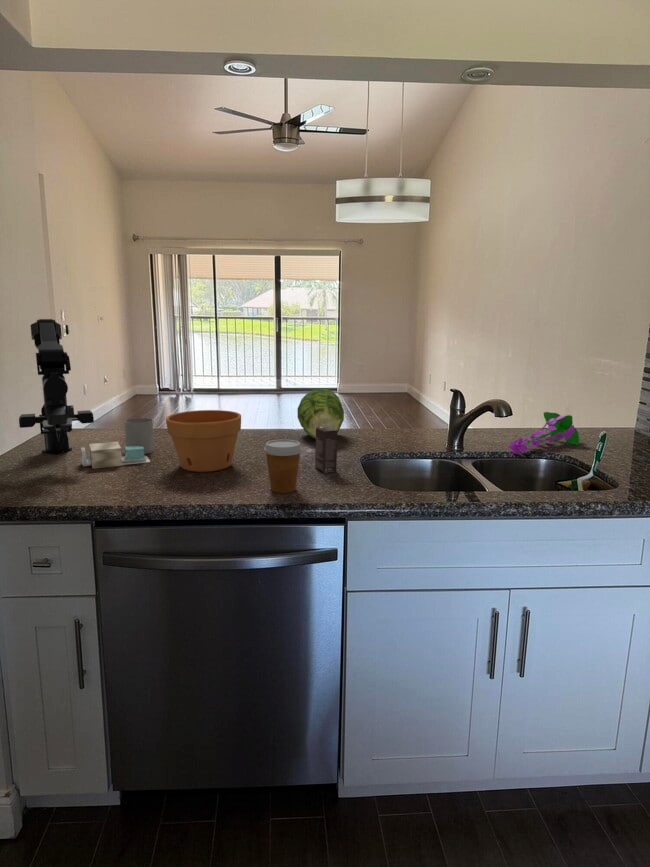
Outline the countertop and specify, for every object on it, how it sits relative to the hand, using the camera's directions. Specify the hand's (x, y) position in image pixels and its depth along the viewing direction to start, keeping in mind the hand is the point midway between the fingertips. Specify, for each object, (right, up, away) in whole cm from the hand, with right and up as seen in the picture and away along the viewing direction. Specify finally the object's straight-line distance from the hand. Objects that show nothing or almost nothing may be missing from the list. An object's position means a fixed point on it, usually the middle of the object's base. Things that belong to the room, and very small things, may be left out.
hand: (59, 448), depth 164 cm
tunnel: (+11, -4, +6) cm, 13 cm away
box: (+75, -6, +2) cm, 75 cm away
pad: (+18, -4, +10) cm, 21 cm away
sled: (+13, -4, +7) cm, 15 cm away
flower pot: (+40, -5, +5) cm, 41 cm away
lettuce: (+74, +2, +41) cm, 85 cm away
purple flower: (+149, -1, +32) cm, 152 cm away
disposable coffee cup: (+64, -10, -15) cm, 67 cm away
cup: (+16, -2, +21) cm, 27 cm away
